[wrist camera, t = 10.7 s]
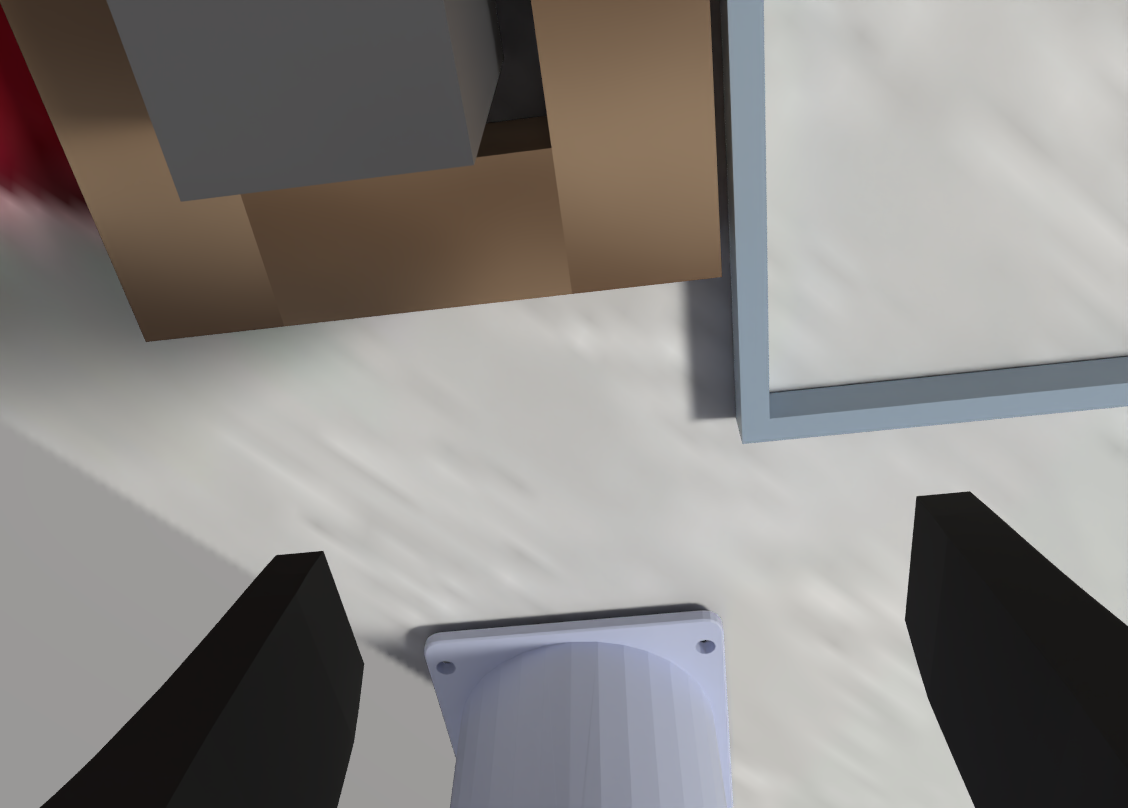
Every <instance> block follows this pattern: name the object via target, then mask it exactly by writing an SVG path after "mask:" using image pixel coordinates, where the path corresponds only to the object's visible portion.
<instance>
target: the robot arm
mask: <svg viewBox="0 0 1128 808" xmlns="http://www.w3.org/2000/svg"><path fill="white" fill-rule="evenodd" d="M905 622H906V625H907V629H908V632H909V636H910V639H911V643H912V646H913V650H914V653H915V657H916V660H917V664H918V667H919V670H920V674H921V677H922V680H923V683H924V687H925V690H926V693H927V696H928V699H929V702H930V704H931V707H932V709H933V711H934V714H935V716H936V719H937V721H938V723H939V726H940V728H941V730H942V732H943V735H944V737H945V739H946V742H947V744H948V746H949V749H950V751H951V753H952V756H953V758H954V760H955V763H956V765H957V767H958V770H959V772H960V774H961V776H962V779H963V781H964V783H965V786H966V788H967V790H968V792H969V795H970V797H971V799H972V802H973V804H974V806H975V808H1128V626H1127V625H1126V624H1125V623H1123V622H1122V621H1121V620H1120V619H1118V618H1117V617H1116V616H1115V615H1113V614H1112V613H1111V612H1110V611H1109V610H1107V609H1106V608H1105V607H1104V606H1102V605H1101V604H1100V603H1099V602H1098V601H1096V600H1095V599H1094V598H1093V597H1091V596H1090V595H1089V594H1088V593H1087V592H1085V591H1084V590H1083V589H1082V588H1080V587H1079V586H1078V585H1077V584H1076V583H1074V582H1073V581H1072V580H1071V579H1070V578H1069V577H1067V576H1066V575H1065V574H1064V573H1063V572H1061V571H1060V570H1059V569H1058V568H1057V567H1056V566H1055V565H1053V564H1052V563H1051V562H1050V561H1049V560H1048V559H1046V558H1045V557H1044V556H1043V555H1042V554H1041V553H1040V552H1038V551H1037V550H1036V549H1035V548H1034V547H1033V546H1032V545H1030V544H1029V543H1028V542H1027V541H1026V540H1025V539H1024V538H1022V537H1021V536H1020V535H1019V534H1018V533H1017V532H1016V531H1015V530H1013V529H1012V528H1011V527H1010V526H1009V525H1008V524H1007V523H1006V522H1004V521H1003V520H1002V519H1001V518H1000V517H999V516H998V515H996V514H995V513H994V512H993V511H992V510H991V509H990V508H988V507H987V506H986V505H985V504H984V503H983V502H982V501H980V500H979V499H978V498H977V497H976V496H975V495H973V494H972V493H971V492H959V493H948V494H937V495H926V496H917V497H916V507H915V518H914V529H913V539H912V550H911V561H910V572H909V582H908V593H907V604H906V614H905ZM703 640H710V641H708V642H705V643H703V642H700V641H703ZM424 656H425V659H426V663H427V666H428V669H429V672H430V676H431V679H432V682H433V685H434V689H435V692H436V695H437V698H438V701H439V705H440V708H441V711H442V714H443V717H444V721H445V724H446V728H447V731H448V734H449V737H450V741H451V744H452V747H453V750H454V753H455V757H456V765H455V773H454V781H453V788H452V796H451V804H450V808H733V794H732V776H731V758H730V739H729V721H728V703H727V685H726V667H725V649H724V631H723V625H722V621H721V618H720V617H719V616H718V615H717V614H716V613H714V612H711V611H704V610H701V611H689V612H677V613H665V614H653V615H641V616H629V617H617V618H605V619H593V620H581V621H569V622H558V623H546V624H534V625H522V626H510V627H498V628H486V629H474V630H462V631H450V632H440V633H435V634H433V635H431V636H430V637H428V639H427V640H426V643H425V648H424ZM443 661H448V662H451V663H444V662H443ZM363 669H364V662H363V660H362V657H361V654H360V651H359V649H358V646H357V643H356V640H355V637H354V635H353V632H352V629H351V626H350V624H349V621H348V618H347V615H346V613H345V610H344V607H343V604H342V601H341V599H340V596H339V593H338V590H337V588H336V585H335V582H334V579H333V577H332V574H331V571H330V568H329V565H328V563H327V560H326V557H325V554H324V552H323V551H318V552H307V553H296V554H285V555H276V556H275V557H274V558H273V559H272V561H271V562H270V563H269V564H268V565H267V566H266V567H265V568H264V569H263V571H262V572H261V573H260V574H259V575H258V576H257V577H256V579H255V580H254V581H253V582H252V583H251V584H250V586H249V587H248V588H247V589H246V590H245V591H244V593H243V594H242V595H241V596H240V597H239V598H238V600H237V601H236V602H235V603H234V604H233V606H232V607H231V608H230V609H229V610H228V611H227V613H226V614H225V615H224V616H223V617H222V618H221V620H220V621H219V622H218V623H217V624H216V625H215V627H214V628H213V629H212V630H211V631H210V632H209V633H208V635H207V636H206V637H205V638H204V639H203V640H202V641H201V643H200V644H199V645H198V646H197V647H196V648H195V649H194V651H193V652H192V653H191V654H190V655H189V656H188V657H187V658H186V660H185V661H184V662H183V663H182V664H181V665H180V667H179V668H178V669H177V670H176V671H175V672H174V673H173V674H172V675H171V677H170V678H169V679H168V680H167V681H166V682H165V683H164V685H162V687H161V688H160V689H159V690H158V691H157V692H156V693H155V694H154V695H153V696H152V697H151V698H150V699H149V700H148V701H147V702H146V703H145V704H144V705H143V706H142V708H141V709H140V710H139V711H138V712H137V713H136V714H135V715H134V716H133V717H132V718H131V719H130V720H129V721H128V722H127V723H126V724H125V725H124V726H123V727H122V728H121V730H119V732H118V733H117V734H116V735H115V736H114V737H113V738H112V739H111V740H110V741H109V742H108V743H107V744H106V745H105V746H104V747H103V748H102V749H101V750H100V751H99V752H98V753H97V754H96V755H95V757H93V758H92V759H91V761H89V762H88V763H87V764H86V765H85V766H84V767H83V768H82V769H81V770H80V771H79V772H78V773H77V774H76V775H75V776H74V777H73V778H72V779H71V780H69V781H68V782H67V783H66V784H65V785H64V786H63V787H62V788H61V789H60V790H59V791H58V792H57V793H56V794H55V795H53V796H52V797H51V798H50V799H49V800H48V801H47V802H46V803H45V804H43V805H42V806H41V807H40V808H337V806H338V802H339V798H340V794H341V790H342V787H343V783H344V779H345V775H346V771H347V767H348V763H349V759H350V755H351V751H352V747H353V743H354V738H355V731H356V723H357V717H358V710H359V702H360V694H361V685H362V677H363Z"/></svg>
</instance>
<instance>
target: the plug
mask: <svg viewBox="0 0 1128 808" xmlns="http://www.w3.org/2000/svg"><path fill="white" fill-rule="evenodd" d="M107 3H108V6H109V9H110V11H111V14H112V17H113V19H114V22H115V25H116V27H117V30H118V33H119V36H120V38H121V41H122V44H123V46H124V49H125V52H126V55H127V57H128V60H129V63H130V65H131V68H132V71H133V74H134V76H135V79H136V82H137V84H138V87H139V90H140V92H141V95H142V98H143V101H144V103H145V106H146V109H147V111H148V114H149V117H150V120H151V122H152V125H153V128H154V130H155V133H156V136H157V139H158V141H159V144H160V147H161V149H162V152H163V155H164V157H165V160H166V163H167V166H168V168H169V171H170V174H171V176H172V179H173V182H174V185H175V187H176V190H177V193H178V195H179V198H180V201H181V202H183V201H191V200H199V199H207V198H215V197H223V196H231V195H239V194H247V193H255V192H263V191H271V190H279V189H287V188H295V187H303V186H311V185H319V184H327V183H335V182H343V181H351V180H359V179H367V178H375V177H383V176H391V175H399V174H407V173H415V172H423V171H431V170H439V169H447V168H455V167H463V166H471V165H474V164H475V160H476V157H477V153H478V149H479V146H480V142H481V139H482V135H483V132H484V128H485V124H486V121H487V117H488V114H489V110H490V106H491V103H492V99H493V96H494V92H495V89H496V85H497V81H498V78H499V74H500V71H501V67H502V64H503V60H504V55H503V48H502V42H501V36H500V30H499V23H498V17H497V11H496V4H495V0H107Z"/></svg>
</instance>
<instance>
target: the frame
mask: <svg viewBox="0 0 1128 808" xmlns="http://www.w3.org/2000/svg"><path fill="white" fill-rule="evenodd" d="M720 8H721V34H722V61H723V87H724V113H725V139H726V166H727V192H728V218H729V245H730V271H731V297H732V324H733V350H734V376H735V403H736V420H737V424H738V428H739V432H740V436H741V440H742V444H747V443H757V442H767V441H777V440H787V439H798V438H808V437H818V436H828V435H838V434H849V433H859V432H869V431H879V430H889V429H900V428H910V427H920V426H930V425H940V424H951V423H961V422H971V421H981V420H991V419H1002V418H1012V417H1022V416H1032V415H1042V414H1052V413H1063V412H1073V411H1083V410H1093V409H1103V408H1114V407H1124V406H1128V357H1119V358H1109V359H1100V360H1090V361H1080V362H1070V363H1061V364H1051V365H1041V366H1031V367H1021V368H1012V369H1002V370H992V371H982V372H972V373H963V374H953V375H943V376H933V377H924V378H914V379H904V380H894V381H884V382H875V383H865V384H855V385H845V386H836V387H826V388H816V389H806V390H796V391H787V392H777V393H769V343H768V274H767V205H766V136H765V67H764V0H720Z"/></svg>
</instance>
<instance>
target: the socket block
mask: <svg viewBox="0 0 1128 808" xmlns="http://www.w3.org/2000/svg"><path fill="white" fill-rule="evenodd" d="M0 3H1V5H2V8H3V10H4V12H5V15H6V17H7V19H8V22H9V24H10V26H11V29H12V31H13V33H14V36H15V38H16V40H17V43H18V45H19V47H20V50H21V52H22V54H23V57H24V59H25V61H26V64H27V66H28V68H29V71H30V73H31V75H32V78H33V80H34V82H35V85H36V87H37V89H38V92H39V94H40V96H41V99H42V101H43V103H44V106H45V108H46V110H47V113H48V115H49V117H50V120H51V122H52V124H53V127H54V129H55V131H56V134H57V136H58V138H59V141H60V143H61V145H62V148H63V150H64V152H65V155H66V157H67V159H68V162H69V164H70V166H71V169H72V171H73V173H74V176H75V178H76V180H77V183H78V185H79V187H80V190H81V192H82V194H83V197H84V199H85V201H86V204H87V206H88V208H89V211H90V213H91V215H92V218H93V220H94V222H95V225H96V227H97V229H98V232H99V234H100V236H101V239H102V241H103V243H104V245H105V248H106V250H107V252H108V255H109V257H110V259H111V262H112V264H113V266H114V269H115V271H116V273H117V276H118V278H119V280H120V283H121V285H122V287H123V290H124V292H125V294H126V297H127V299H128V301H129V304H130V306H131V308H132V311H133V313H134V315H135V318H136V320H137V322H138V325H139V327H140V329H141V332H142V334H143V336H144V339H145V341H146V342H150V341H159V340H168V339H177V338H185V337H194V336H203V335H212V334H221V333H230V332H239V331H247V330H256V329H265V328H274V327H283V326H292V325H301V324H309V323H318V322H327V321H336V320H345V319H354V318H363V317H371V316H380V315H389V314H398V313H407V312H416V311H425V310H433V309H442V308H451V307H460V306H469V305H478V304H487V303H495V302H504V301H513V300H522V299H531V298H540V297H549V296H557V295H566V294H575V293H584V292H593V291H602V290H611V289H619V288H628V287H637V286H646V285H655V284H664V283H673V282H682V281H690V280H699V279H708V278H717V277H722V269H721V246H720V223H719V200H718V177H717V154H716V132H715V109H714V86H713V63H712V40H711V17H710V0H531V5H532V12H533V19H534V26H535V33H536V40H537V47H538V54H539V62H540V69H541V76H542V83H543V90H544V97H545V104H546V111H547V116H540V117H532V118H525V119H517V120H509V121H501V122H494V123H486V124H485V128H484V132H483V135H482V139H481V142H480V146H479V149H478V153H477V157H476V160H475V164H474V165H471V166H463V167H455V168H447V169H439V170H431V171H423V172H415V173H407V174H399V175H391V176H383V177H375V178H367V179H359V180H351V181H343V182H335V183H327V184H319V185H311V186H303V187H295V188H287V189H279V190H271V191H263V192H255V193H247V194H239V195H231V196H223V197H215V198H207V199H199V200H191V201H183V202H181V201H180V198H179V195H178V193H177V190H176V187H175V185H174V182H173V179H172V176H171V174H170V171H169V168H168V166H167V163H166V160H165V157H164V155H163V152H162V149H161V147H160V144H159V141H158V139H157V136H156V133H155V130H154V128H153V125H152V122H151V120H150V117H149V114H148V111H147V109H146V106H145V103H144V101H143V98H142V95H141V92H140V90H139V87H138V84H137V82H136V79H135V76H134V74H133V71H132V68H131V65H130V63H129V60H128V57H127V55H126V52H125V49H124V46H123V44H122V41H121V38H120V36H119V33H118V30H117V27H116V25H115V22H114V19H113V17H112V14H111V11H110V9H109V6H108V3H107V0H0Z"/></svg>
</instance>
